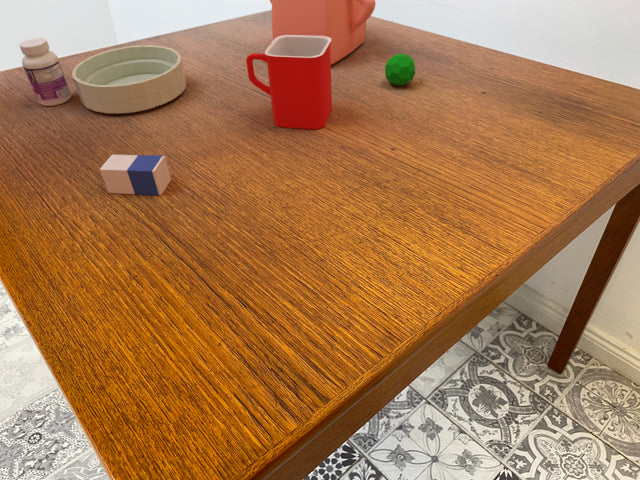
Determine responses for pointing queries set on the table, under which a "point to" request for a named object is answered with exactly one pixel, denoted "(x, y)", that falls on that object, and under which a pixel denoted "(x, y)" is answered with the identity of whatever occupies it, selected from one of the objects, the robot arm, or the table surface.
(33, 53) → the pill bottle
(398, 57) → the polyhedron
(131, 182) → the eraser
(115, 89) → the bowl
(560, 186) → the table surface
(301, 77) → the mug
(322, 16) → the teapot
